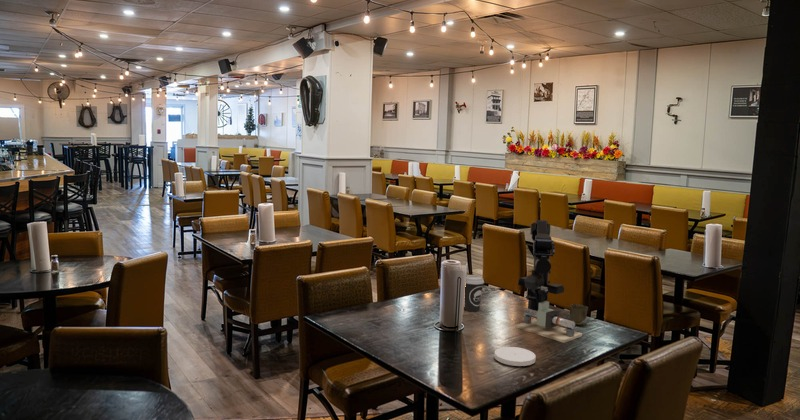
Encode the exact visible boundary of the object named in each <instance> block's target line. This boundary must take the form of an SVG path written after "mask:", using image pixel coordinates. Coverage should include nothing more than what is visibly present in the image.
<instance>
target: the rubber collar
mask: <svg viewBox="0 0 800 420" xmlns="http://www.w3.org/2000/svg"><path fill="white" fill-rule="evenodd" d="M559 312H560V311H559V310H555V309H553V311H550V312H547V313H546V322H545V327H546V328H549V329H550V328H553V327H556V326H559V325H557V324H553V323H552V316H556V317H560V316H559Z"/></svg>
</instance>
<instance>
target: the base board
mask: <svg viewBox="0 0 800 420" xmlns="http://www.w3.org/2000/svg"><path fill="white" fill-rule="evenodd" d="M514 328H515V329H518V330H519V329H520V330H522V331H525V332H529V333H532V334H535V335H538V336H542V337H544V338H548V339H551V340H554V341H557V342H560V343H563V344H565V343H567V342H570V341H572V340H575V339H577V338H580V337H582V336H583V333H582V332H578V331H576V330H574V336H572V337H569V336H566V330H567V327H565V328H564V327H563V326H559V325H558V326H556V327H553V328H550V329H549V328H546V327H543V326H539V325H537V319H536V318H533V319H532V318H531V323H529V324H526V323H524V321H523V322H520V323H517V324H516V323H515V324H514Z"/></svg>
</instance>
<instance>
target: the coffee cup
mask: <svg viewBox="0 0 800 420" xmlns="http://www.w3.org/2000/svg"><path fill="white" fill-rule="evenodd" d="M466 276H467V277H466V280H467V281H466V287H465V298H464V299H463V300H464V310H465V311H467V312H471V313H476V312H477V313H478V312H480V308H481V300H482V294H483V287H484V284H485V281H484V280H485V279H483V277H482V276H480V275H474V274H472V275H470V274H468V275H466Z"/></svg>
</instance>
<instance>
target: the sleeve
mask: <svg viewBox="0 0 800 420" xmlns="http://www.w3.org/2000/svg"><path fill="white" fill-rule="evenodd" d="M553 310H554V309H552V308H550V301H548V300H546V301H543V302H540V303H539V307H538V312H537V319H536V320H537V325H539V326H543V327H545V322H546V313H547V312H550V311H553Z"/></svg>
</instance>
